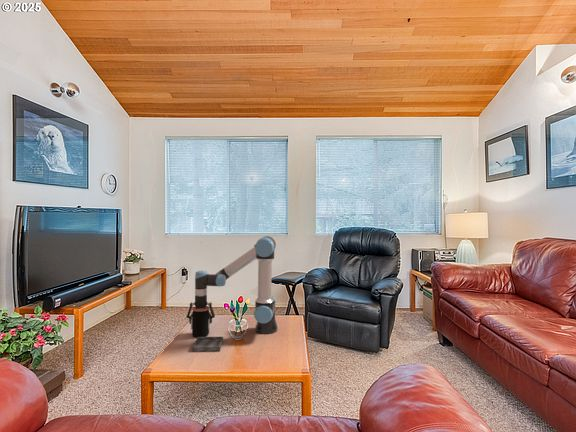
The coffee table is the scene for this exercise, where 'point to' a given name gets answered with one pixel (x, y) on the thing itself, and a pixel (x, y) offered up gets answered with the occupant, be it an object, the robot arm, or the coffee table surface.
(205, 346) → the jar stand
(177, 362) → the coffee table surface
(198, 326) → the coffee jar
